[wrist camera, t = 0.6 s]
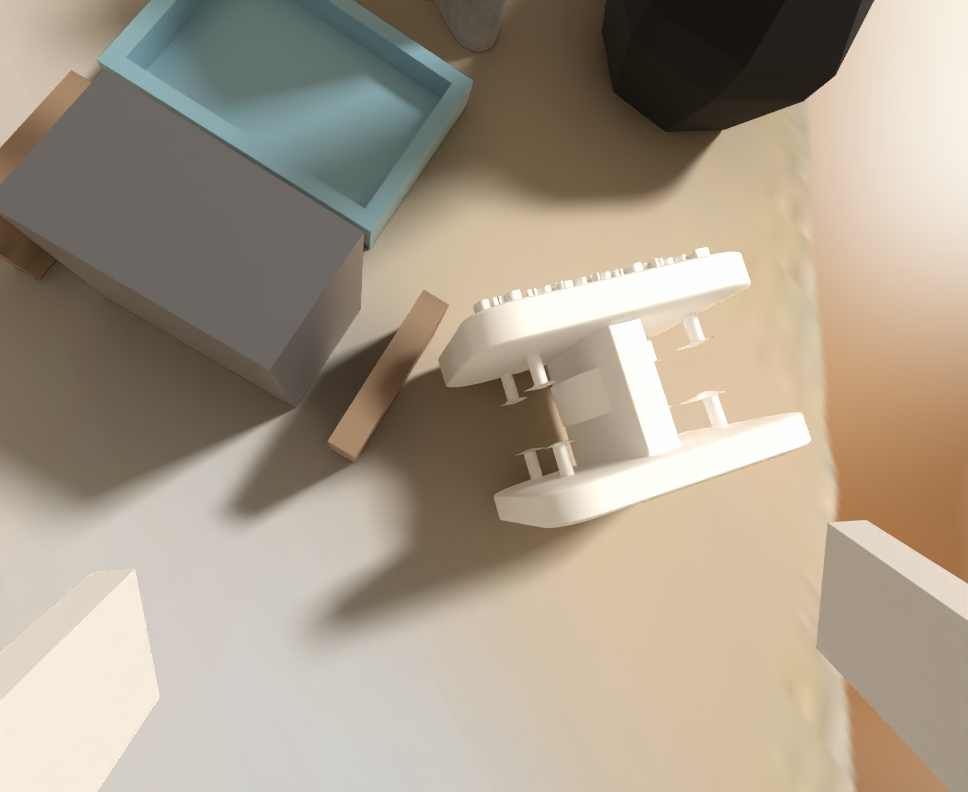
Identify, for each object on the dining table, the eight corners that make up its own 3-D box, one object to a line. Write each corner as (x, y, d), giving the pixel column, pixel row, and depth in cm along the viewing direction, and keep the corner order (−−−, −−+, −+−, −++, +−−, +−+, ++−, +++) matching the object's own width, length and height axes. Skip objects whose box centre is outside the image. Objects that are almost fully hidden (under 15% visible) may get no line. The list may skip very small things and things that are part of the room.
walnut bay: (354, 463, 34) (355, 457, 29) (13, 265, 32) (-62, 215, 26) (433, 334, 37) (449, 305, 31) (118, 141, 34) (71, 70, 29)
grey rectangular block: (295, 408, 34) (269, 370, 24) (102, 295, 33) (-16, 202, 22) (360, 309, 36) (363, 232, 25) (179, 198, 35) (103, 69, 24)
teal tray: (369, 249, 37) (370, 231, 34) (114, 90, 35) (96, 59, 32) (466, 106, 39) (473, 81, 37) (235, -48, 38) (227, -85, 35)
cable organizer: (478, 526, 35) (537, 542, 24) (430, 356, 36) (464, 296, 25) (695, 456, 39) (833, 441, 28) (645, 303, 40) (759, 230, 29)
